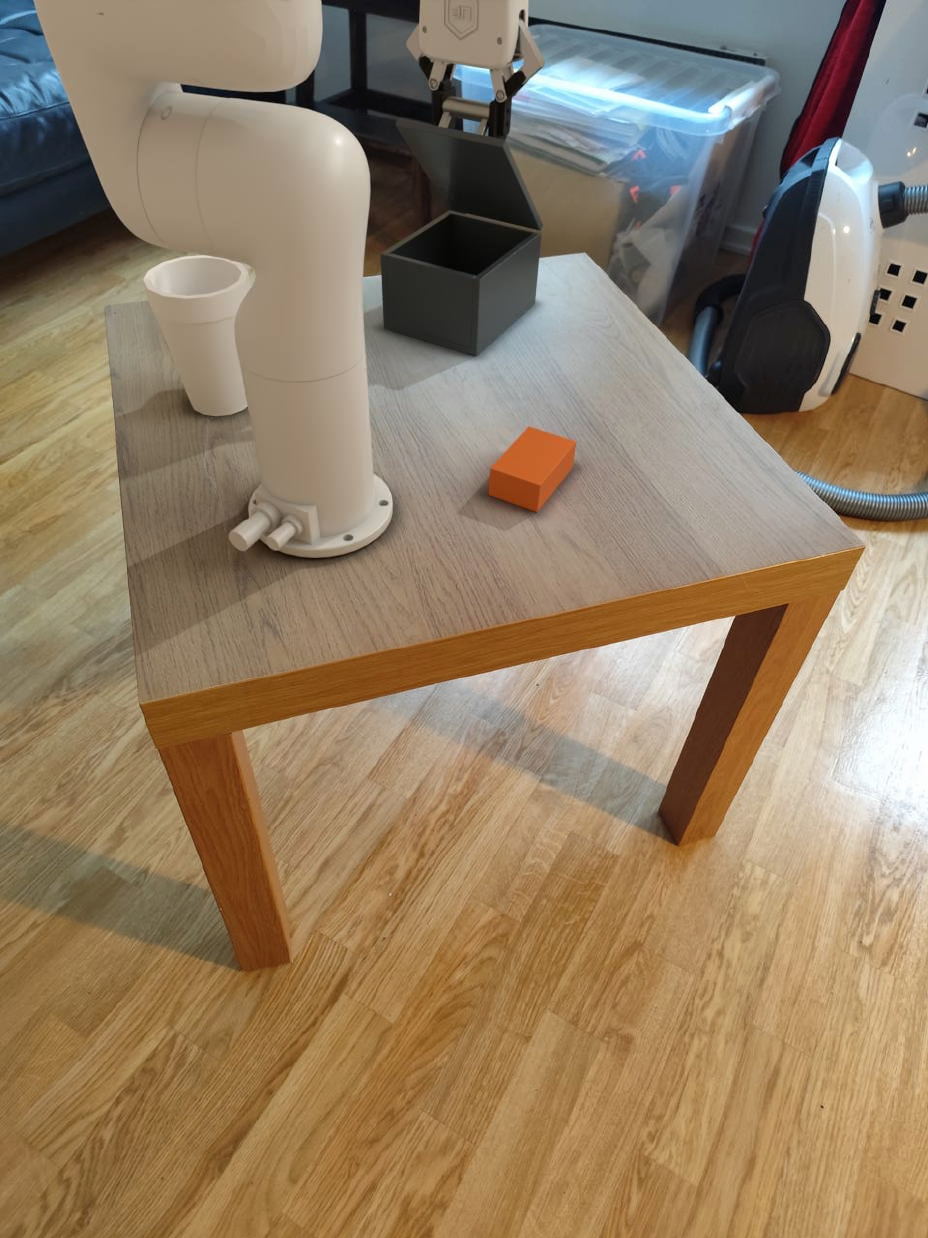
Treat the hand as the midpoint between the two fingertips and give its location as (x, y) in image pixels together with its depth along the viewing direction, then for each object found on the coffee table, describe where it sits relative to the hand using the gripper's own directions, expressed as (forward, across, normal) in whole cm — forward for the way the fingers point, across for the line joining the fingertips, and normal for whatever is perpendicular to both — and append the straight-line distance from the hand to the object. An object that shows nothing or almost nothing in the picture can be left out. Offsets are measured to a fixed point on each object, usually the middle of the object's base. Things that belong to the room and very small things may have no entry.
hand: (471, 134), depth 87 cm
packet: (+20, +22, -27) cm, 40 cm away
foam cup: (+20, -12, -31) cm, 39 cm away
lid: (+5, 0, +1) cm, 5 cm away
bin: (+20, 0, -1) cm, 20 cm away
